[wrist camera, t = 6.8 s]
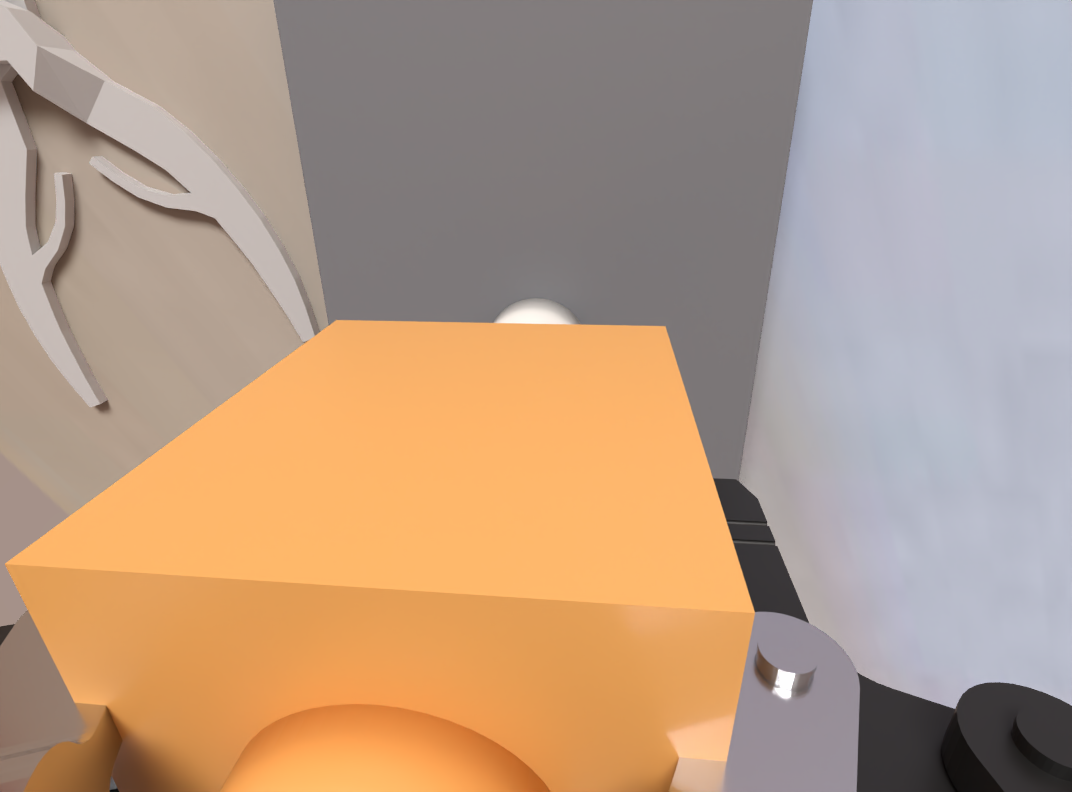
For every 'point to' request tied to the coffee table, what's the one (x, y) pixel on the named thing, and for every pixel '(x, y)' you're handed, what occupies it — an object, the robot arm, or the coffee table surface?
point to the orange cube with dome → (412, 574)
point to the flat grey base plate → (554, 169)
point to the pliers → (87, 93)
